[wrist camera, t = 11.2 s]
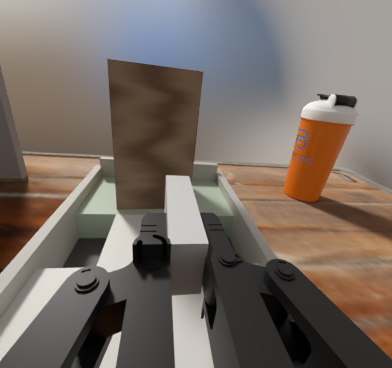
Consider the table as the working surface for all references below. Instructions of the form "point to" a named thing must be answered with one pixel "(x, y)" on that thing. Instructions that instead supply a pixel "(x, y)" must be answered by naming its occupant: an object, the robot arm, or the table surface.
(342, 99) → the shaker bottle
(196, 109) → the walnut block
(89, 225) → the box
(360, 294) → the table surface
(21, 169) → the cabinet
